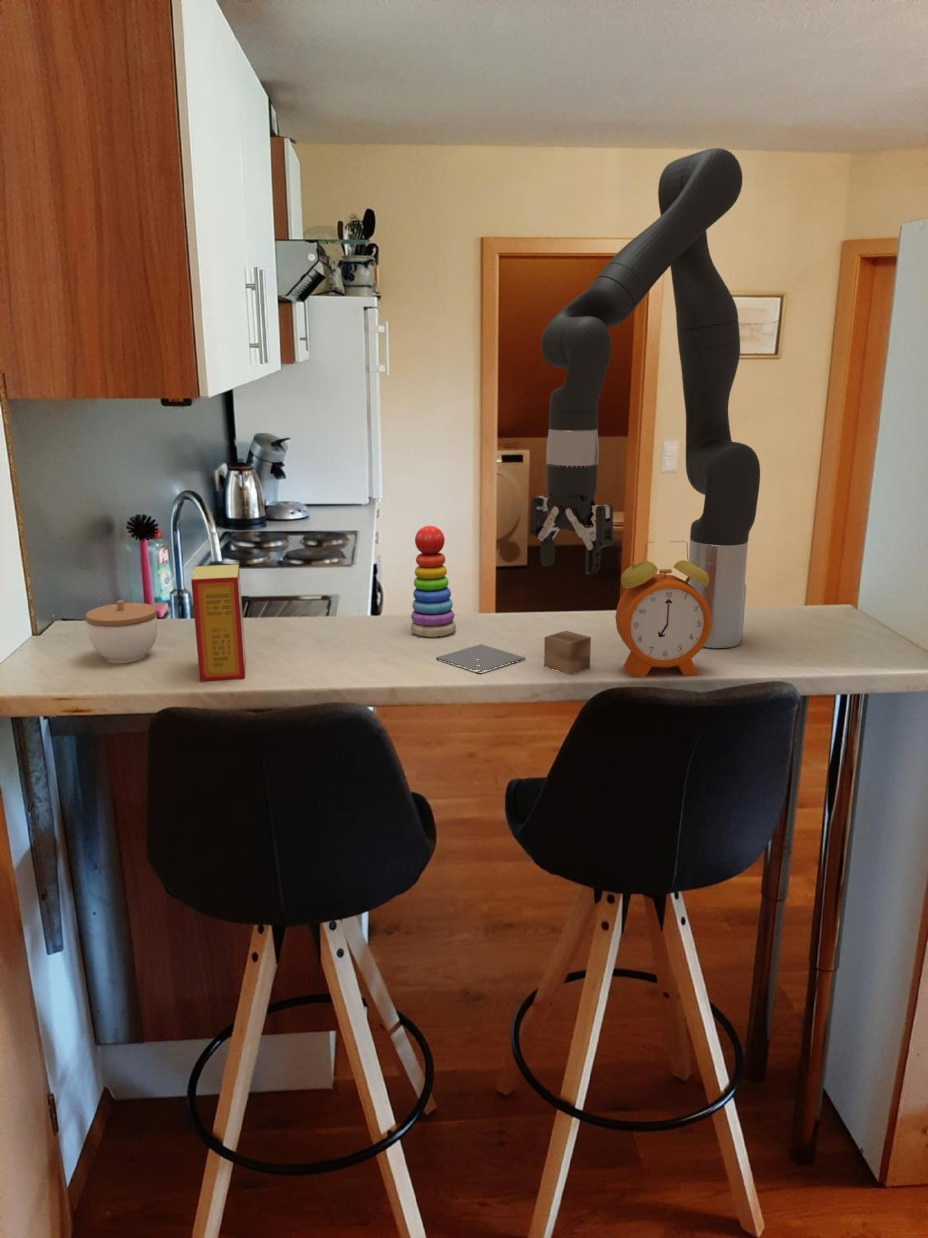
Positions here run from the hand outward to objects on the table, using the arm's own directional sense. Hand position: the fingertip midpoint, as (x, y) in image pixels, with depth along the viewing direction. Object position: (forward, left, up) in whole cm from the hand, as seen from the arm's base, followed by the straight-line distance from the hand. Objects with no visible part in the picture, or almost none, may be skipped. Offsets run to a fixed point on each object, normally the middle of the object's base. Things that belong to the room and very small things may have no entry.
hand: (569, 569), depth 141 cm
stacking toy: (+2, -29, -16) cm, 33 cm away
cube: (0, 0, -16) cm, 16 cm away
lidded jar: (+47, -53, -16) cm, 73 cm away
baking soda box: (+39, -36, -16) cm, 55 cm away
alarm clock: (-9, +11, -16) cm, 21 cm away
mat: (+7, -12, -15) cm, 21 cm away
